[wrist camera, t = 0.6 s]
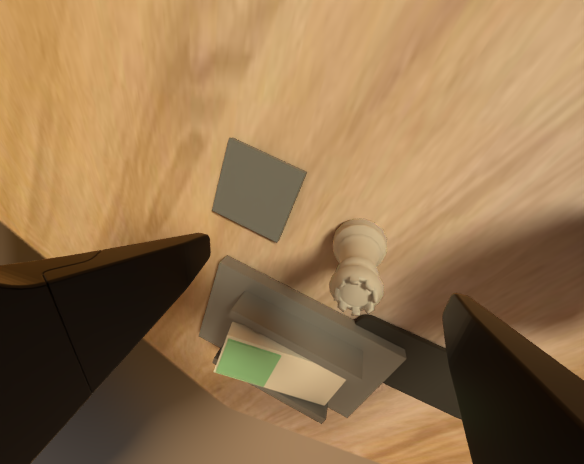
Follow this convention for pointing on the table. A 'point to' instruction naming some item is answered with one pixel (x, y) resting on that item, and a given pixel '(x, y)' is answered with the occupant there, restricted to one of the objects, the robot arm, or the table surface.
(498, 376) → the robot arm
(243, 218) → the rubber pad
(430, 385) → the phone
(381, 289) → the rook chess piece
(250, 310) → the grey stand
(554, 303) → the table surface
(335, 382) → the rocker
